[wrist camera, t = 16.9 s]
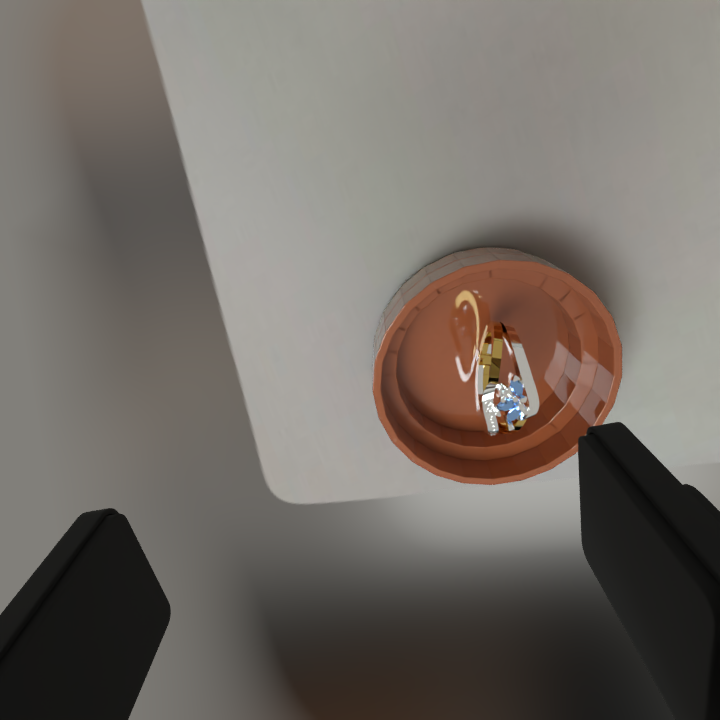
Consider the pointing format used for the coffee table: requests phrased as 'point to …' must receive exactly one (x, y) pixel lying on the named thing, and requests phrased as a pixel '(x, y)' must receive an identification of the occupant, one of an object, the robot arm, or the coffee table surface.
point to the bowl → (458, 366)
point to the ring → (490, 382)
